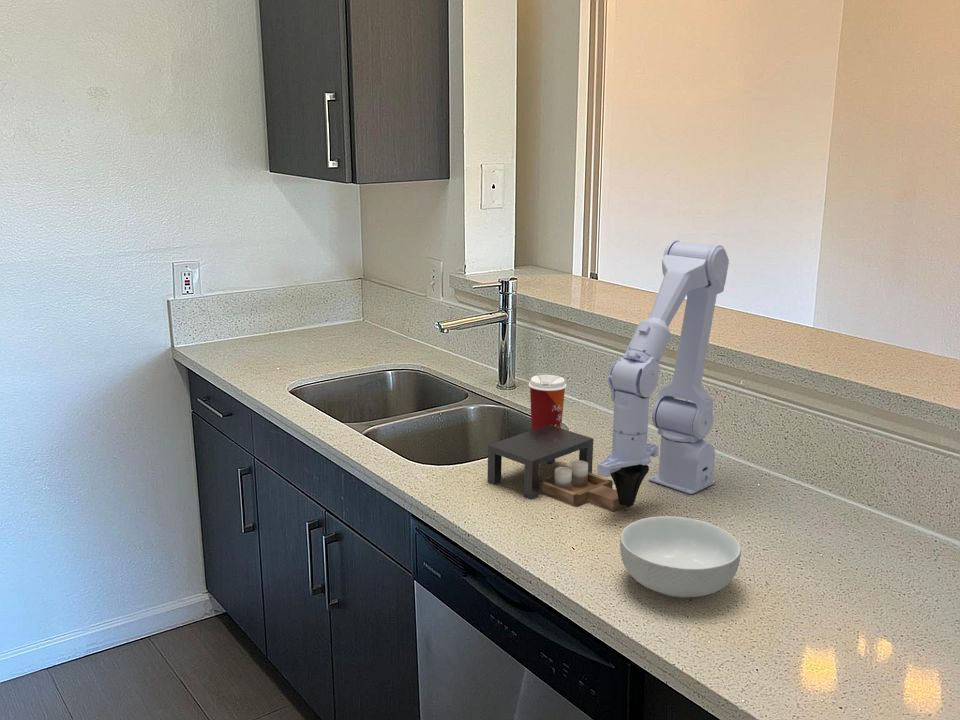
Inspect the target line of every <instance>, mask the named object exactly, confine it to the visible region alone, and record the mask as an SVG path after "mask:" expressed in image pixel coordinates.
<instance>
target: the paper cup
mask: <svg viewBox="0 0 960 720" xmlns="http://www.w3.org/2000/svg"><path fill="white" fill-rule="evenodd" d="M565 380H566V379H565V378H564V377H562V376H558V375H555V374H554V375H553V374H537V375H534V376H532V377H531V378H530V381H529V383H528V387H529V392H530V393H529V395H530V416H531V417H530V419H531V426H530V427H531V430H534V429H537V428H540V427H543V426H546V425H552V426H555V427H558V428H562V424H563V414H564V413H563V411H564V402H565V390H566V388H567V383H566V381H565Z"/></svg>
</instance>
